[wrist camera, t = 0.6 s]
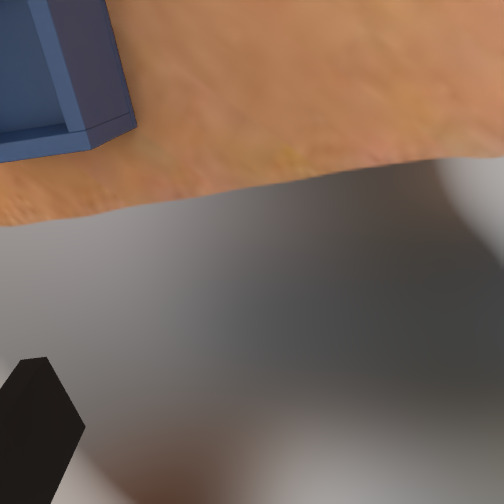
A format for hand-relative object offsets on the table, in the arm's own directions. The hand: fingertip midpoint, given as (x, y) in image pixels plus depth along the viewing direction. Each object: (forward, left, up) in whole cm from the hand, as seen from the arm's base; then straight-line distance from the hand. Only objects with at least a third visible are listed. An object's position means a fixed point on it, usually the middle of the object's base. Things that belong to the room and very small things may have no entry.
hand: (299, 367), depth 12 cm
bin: (-9, -20, -26) cm, 34 cm away
